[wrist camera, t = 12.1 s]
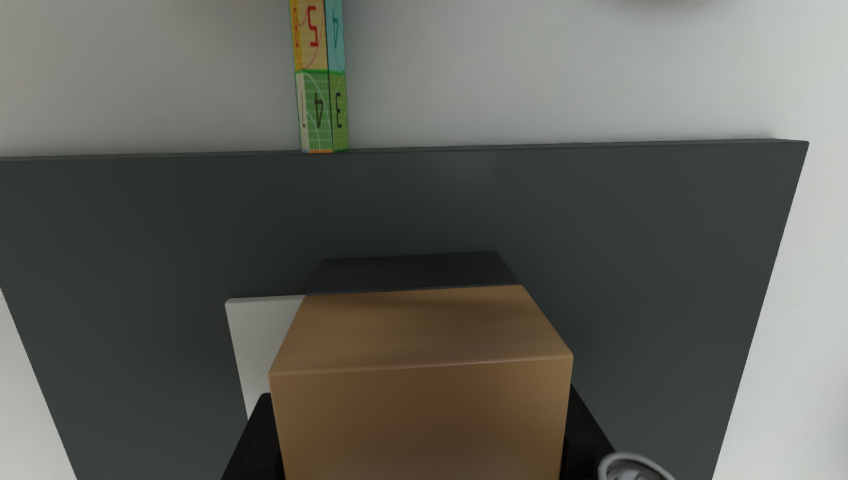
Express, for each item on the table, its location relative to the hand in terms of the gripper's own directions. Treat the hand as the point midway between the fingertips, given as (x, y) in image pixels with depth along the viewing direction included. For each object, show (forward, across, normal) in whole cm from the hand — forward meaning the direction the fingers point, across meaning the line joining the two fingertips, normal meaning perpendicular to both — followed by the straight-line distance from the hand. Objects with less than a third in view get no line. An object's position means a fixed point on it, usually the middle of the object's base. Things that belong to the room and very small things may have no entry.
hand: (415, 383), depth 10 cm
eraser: (+1, 0, 0) cm, 1 cm away
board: (+2, 0, 0) cm, 2 cm away
